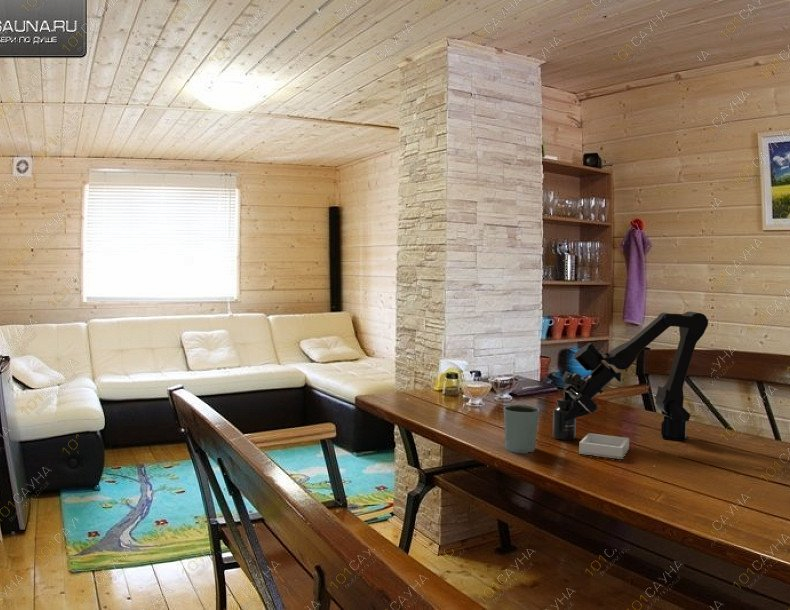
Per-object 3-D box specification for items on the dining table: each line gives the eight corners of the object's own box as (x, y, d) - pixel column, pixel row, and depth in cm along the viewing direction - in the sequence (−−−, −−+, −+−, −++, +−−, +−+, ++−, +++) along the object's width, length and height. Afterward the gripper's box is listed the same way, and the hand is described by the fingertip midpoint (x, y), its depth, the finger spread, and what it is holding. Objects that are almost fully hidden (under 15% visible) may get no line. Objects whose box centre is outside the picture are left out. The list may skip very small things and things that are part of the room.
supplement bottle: (570, 442, 202) (571, 402, 201) (549, 438, 206) (549, 399, 205) (579, 437, 207) (579, 399, 207) (558, 433, 212) (558, 396, 211)
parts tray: (628, 449, 194) (629, 438, 193) (621, 460, 184) (622, 447, 183) (588, 444, 199) (588, 433, 199) (579, 454, 189) (579, 442, 189)
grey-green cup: (496, 446, 198) (497, 406, 197) (526, 442, 201) (527, 403, 200) (514, 455, 188) (515, 413, 187) (545, 451, 192) (546, 410, 191)
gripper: (570, 358, 214) (535, 392, 215) (586, 367, 196) (548, 405, 197) (594, 382, 215) (559, 416, 216) (613, 394, 196) (574, 431, 197)
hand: (559, 416), depth 206 cm, fingers open, 9 cm apart
